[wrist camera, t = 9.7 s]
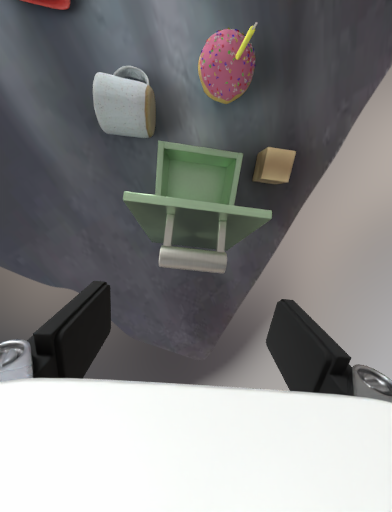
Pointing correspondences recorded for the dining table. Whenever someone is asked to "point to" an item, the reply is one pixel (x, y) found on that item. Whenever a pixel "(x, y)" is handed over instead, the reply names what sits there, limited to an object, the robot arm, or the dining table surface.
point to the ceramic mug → (125, 103)
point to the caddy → (197, 173)
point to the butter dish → (51, 3)
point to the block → (273, 165)
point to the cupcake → (227, 64)
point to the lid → (193, 229)
